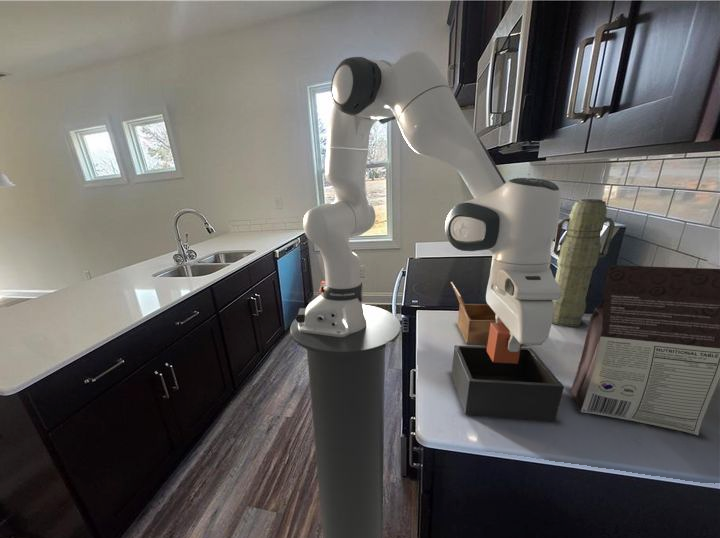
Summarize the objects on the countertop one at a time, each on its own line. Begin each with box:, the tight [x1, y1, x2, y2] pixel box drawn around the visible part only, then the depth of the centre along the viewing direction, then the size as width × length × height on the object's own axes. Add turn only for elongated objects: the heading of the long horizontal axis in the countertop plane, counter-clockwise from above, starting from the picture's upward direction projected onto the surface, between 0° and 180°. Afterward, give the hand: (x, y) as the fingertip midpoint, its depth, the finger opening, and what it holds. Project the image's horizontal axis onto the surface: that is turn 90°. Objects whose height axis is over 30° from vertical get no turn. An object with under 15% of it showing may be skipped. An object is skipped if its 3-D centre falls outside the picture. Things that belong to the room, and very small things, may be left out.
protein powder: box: [569, 264, 720, 436], centre depth 55 cm, size 16×9×28 cm, turn 66°
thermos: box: [552, 198, 616, 327], centre depth 90 cm, size 9×12×35 cm
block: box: [486, 323, 522, 364], centre depth 62 cm, size 4×4×6 cm
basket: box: [451, 344, 565, 422], centre depth 65 cm, size 16×14×8 cm
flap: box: [450, 281, 470, 318], centre depth 88 cm, size 7×12×1 cm
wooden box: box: [457, 303, 524, 347], centre depth 89 cm, size 14×12×7 cm
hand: (506, 342), depth 62 cm, fingers closed on block, 4 cm apart
